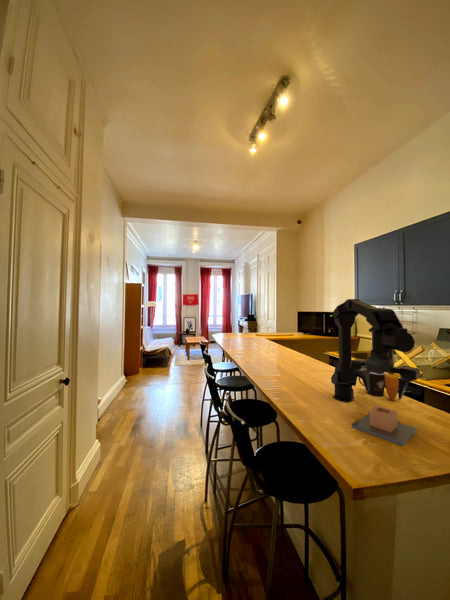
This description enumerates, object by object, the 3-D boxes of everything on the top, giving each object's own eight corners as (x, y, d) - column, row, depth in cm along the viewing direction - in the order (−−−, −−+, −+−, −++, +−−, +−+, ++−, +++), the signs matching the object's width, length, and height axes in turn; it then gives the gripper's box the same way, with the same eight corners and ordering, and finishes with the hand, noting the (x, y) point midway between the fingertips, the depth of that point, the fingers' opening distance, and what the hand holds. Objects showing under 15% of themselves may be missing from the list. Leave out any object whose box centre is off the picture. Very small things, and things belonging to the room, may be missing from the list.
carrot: (382, 398, 106) (381, 364, 107) (392, 398, 106) (392, 364, 107) (390, 403, 101) (390, 366, 102) (402, 403, 101) (401, 366, 102)
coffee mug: (383, 392, 115) (383, 370, 115) (389, 398, 107) (388, 375, 107) (355, 389, 118) (355, 368, 119) (359, 395, 110) (359, 373, 111)
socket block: (369, 425, 79) (369, 409, 80) (376, 420, 83) (376, 405, 83) (390, 432, 75) (390, 416, 75) (397, 426, 78) (397, 411, 79)
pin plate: (351, 427, 80) (351, 410, 80) (369, 416, 89) (368, 400, 89) (402, 446, 69) (402, 426, 69) (416, 431, 78) (416, 413, 78)
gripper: (342, 345, 82) (342, 392, 81) (409, 353, 68) (410, 410, 67) (356, 343, 89) (357, 386, 88) (420, 349, 75) (421, 401, 74)
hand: (383, 395), depth 79 cm, fingers open, 9 cm apart
